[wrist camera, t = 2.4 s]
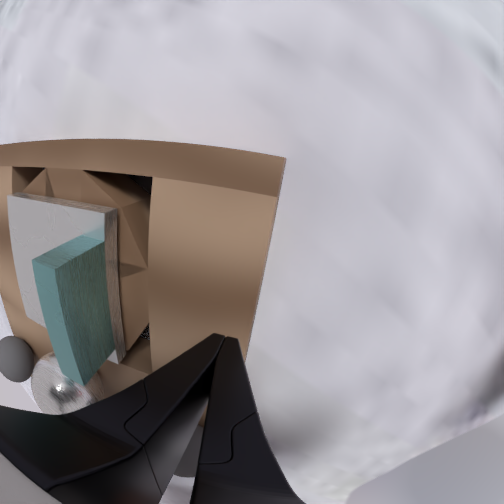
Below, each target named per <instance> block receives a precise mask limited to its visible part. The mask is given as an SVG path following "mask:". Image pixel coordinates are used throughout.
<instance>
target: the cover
mask: <svg viewBox="0 0 504 504" xmlns="http://www.w3.org/2000/svg"><path fill="white" fill-rule="evenodd" d="M7 204H8V219H9V229H10V238H11V246H12V253H13V259H14V265H15V270H16V275H17V280H18V284H19V289H20V293H21V297H22V301H23V305H24V308H25V312H26V316H27V317H28V318H30V319H32V320H33V321H35V322H36V323H38V324H40V325H41V326H43V327H45V328H46V329H47V331H48V334H49V338H50V341H51V344H52V347H53V350H54V353H55V356H56V358H57V361H58V364H59V367H60V369H61V372H62V374H63V375H64V376H66V377H68V378H70V379H71V380H73V381H75V382H77V383H78V384H80V385H82V386H84V387H85V385H86V384H87V383H88V382H89V380H90V379H91V378H92V377H93V375H94V374H95V373H96V372H97V371H98V369H99V368H100V367H101V366H102V364H103V363H104V362H105V361H106V360H109V361H112V362H114V363H116V364H119V363H120V362H121V360H122V359H123V358H124V357H125V355H126V350H125V343H124V335H123V327H122V319H121V309H120V298H119V284H118V264H117V208H111V207H106V206H100V205H94V204H88V203H83V202H77V201H71V200H65V199H59V198H53V197H47V196H41V195H34V194H28V193H22V192H17V193H13V194H10V195H7Z"/></svg>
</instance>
